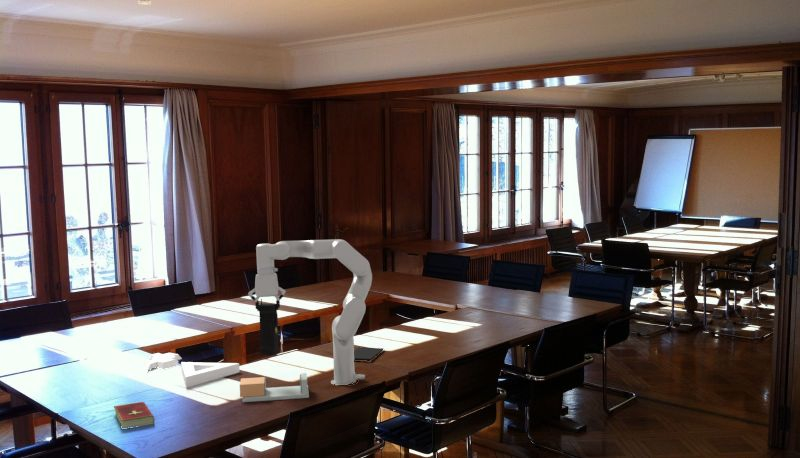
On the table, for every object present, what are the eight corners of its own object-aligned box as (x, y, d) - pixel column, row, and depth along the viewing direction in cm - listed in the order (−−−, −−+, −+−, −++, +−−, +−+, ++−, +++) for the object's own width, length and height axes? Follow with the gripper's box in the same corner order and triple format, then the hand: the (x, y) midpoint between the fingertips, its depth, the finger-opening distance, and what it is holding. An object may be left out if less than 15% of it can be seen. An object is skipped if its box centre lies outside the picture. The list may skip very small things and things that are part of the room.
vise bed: (307, 388, 329) (307, 372, 328) (309, 397, 315) (308, 380, 314) (244, 392, 324) (243, 376, 324) (242, 402, 310) (241, 384, 310)
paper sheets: (179, 375, 358) (178, 364, 357) (137, 378, 354) (136, 367, 354) (187, 358, 392) (187, 348, 392) (149, 361, 389) (148, 350, 388)
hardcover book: (145, 410, 304) (144, 400, 304) (154, 424, 285) (154, 414, 285) (114, 415, 298) (113, 405, 298) (122, 430, 280) (121, 419, 279)
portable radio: (281, 352, 332) (279, 298, 330) (275, 355, 327) (273, 300, 325) (266, 351, 335) (264, 297, 333) (259, 354, 329) (257, 299, 327)
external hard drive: (384, 354, 391) (384, 348, 391) (370, 365, 369) (370, 359, 369) (359, 352, 395) (358, 347, 395) (343, 363, 373) (343, 357, 373)
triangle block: (181, 374, 360) (181, 362, 359) (235, 368, 368) (235, 356, 368) (186, 390, 331) (185, 377, 331) (244, 384, 340) (243, 370, 340)
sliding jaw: (266, 388, 324) (265, 376, 323) (265, 395, 314) (265, 382, 313) (241, 390, 322) (241, 378, 322) (240, 397, 312) (239, 384, 312)
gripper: (285, 269, 333) (287, 307, 334) (246, 271, 330) (248, 309, 332) (285, 271, 325) (287, 310, 326) (245, 273, 323) (247, 312, 324)
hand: (267, 309), depth 329 cm, fingers closed on portable radio, 8 cm apart
